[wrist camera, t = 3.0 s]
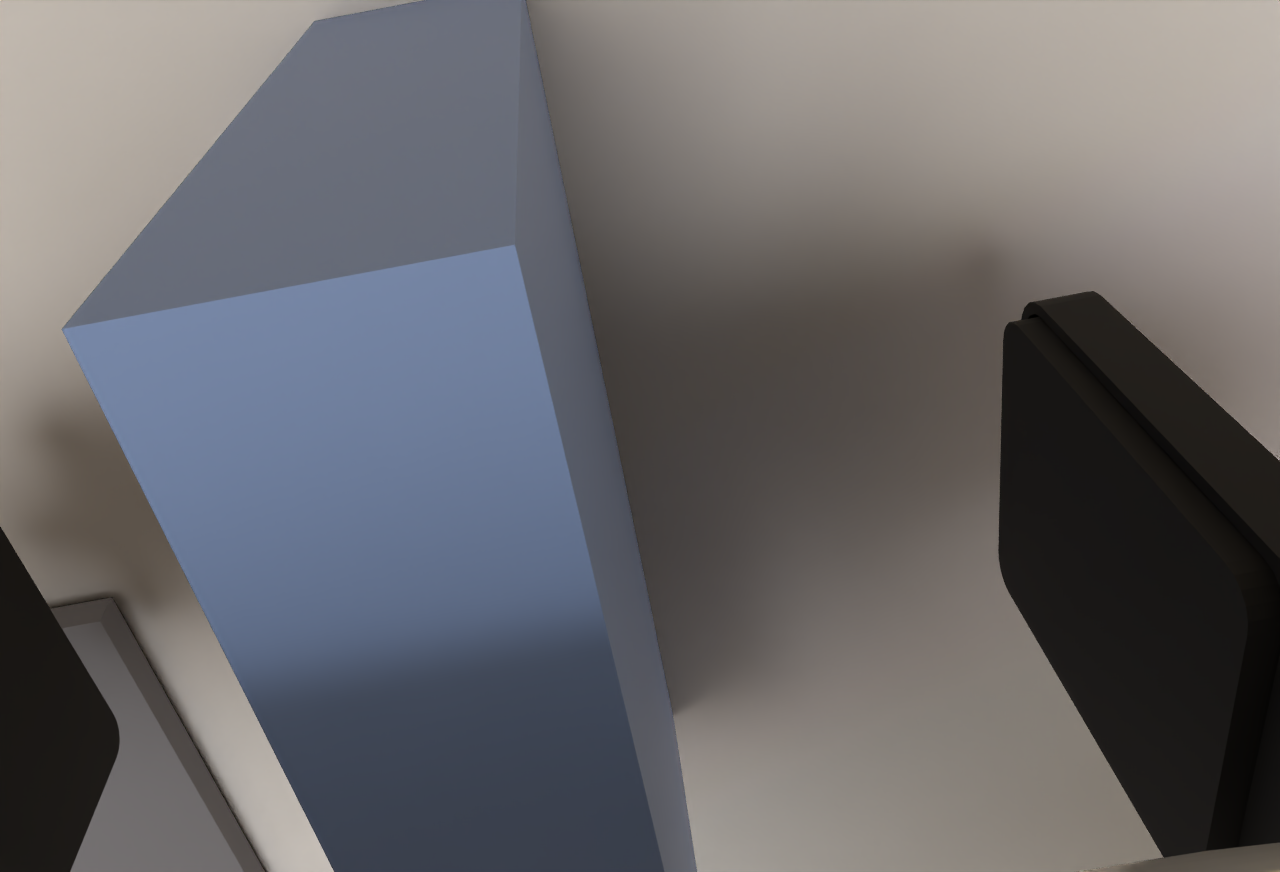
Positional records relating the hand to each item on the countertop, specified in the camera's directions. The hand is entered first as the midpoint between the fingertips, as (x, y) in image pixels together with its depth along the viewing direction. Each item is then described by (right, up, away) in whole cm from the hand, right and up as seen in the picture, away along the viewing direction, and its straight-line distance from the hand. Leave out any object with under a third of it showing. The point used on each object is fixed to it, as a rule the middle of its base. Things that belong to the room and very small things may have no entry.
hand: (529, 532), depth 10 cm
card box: (0, +1, +2) cm, 2 cm away
